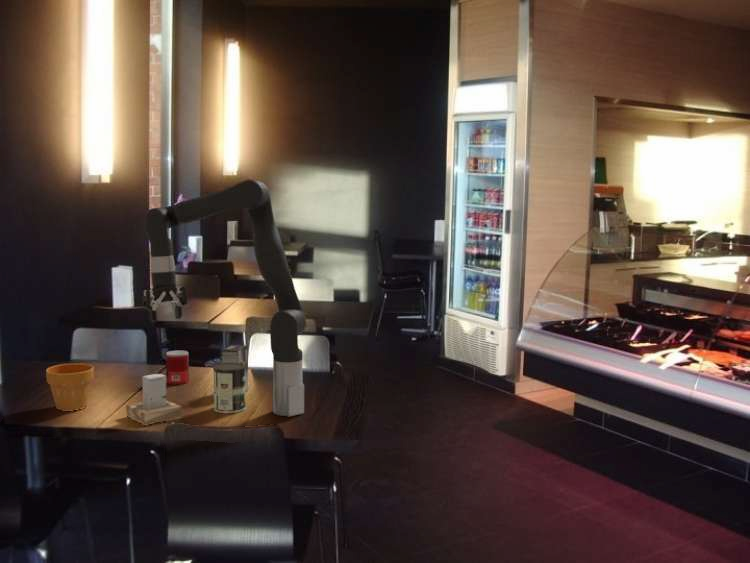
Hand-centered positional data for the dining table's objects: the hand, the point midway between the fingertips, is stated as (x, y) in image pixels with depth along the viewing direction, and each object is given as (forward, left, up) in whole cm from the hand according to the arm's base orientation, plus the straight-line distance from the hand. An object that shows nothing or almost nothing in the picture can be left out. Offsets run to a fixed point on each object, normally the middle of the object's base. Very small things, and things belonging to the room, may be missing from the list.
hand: (166, 320), depth 260 cm
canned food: (+23, -17, -28) cm, 40 cm away
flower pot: (+16, +25, -28) cm, 41 cm away
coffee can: (-17, -13, -28) cm, 35 cm away
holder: (-10, +10, -28) cm, 31 cm away
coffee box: (-2, -25, -28) cm, 37 cm away
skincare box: (-10, +10, -27) cm, 30 cm away
